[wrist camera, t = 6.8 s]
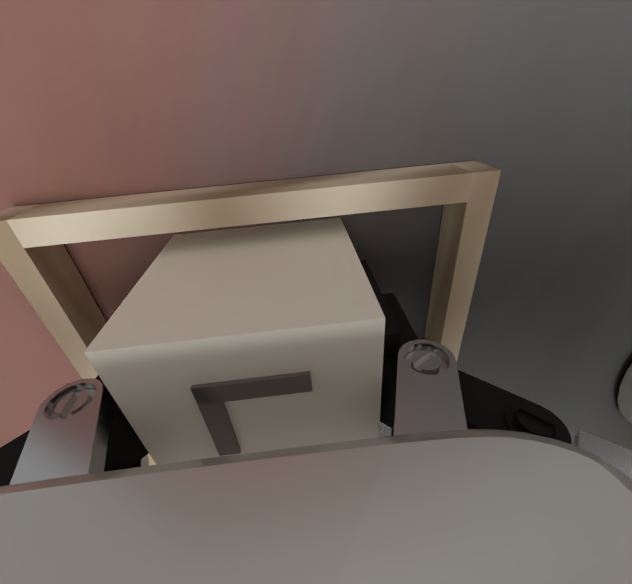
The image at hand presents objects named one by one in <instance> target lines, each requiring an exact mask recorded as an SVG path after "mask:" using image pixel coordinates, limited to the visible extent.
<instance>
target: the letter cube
mask: <svg viewBox="0 0 632 584" xmlns="http://www.w3.org/2000/svg"><path fill="white" fill-rule="evenodd" d="M384 334H385V316H384V314H383V311H382V309H381V307H380V305H379V302H378V300H377V298H376V296H375V294H374V291H373V289H372V287H371V285H370V282H369V280H368V278H367V276H366V273H365V271H364V269H363V267H362V264H361V262H360V260H359V258H358V255H357V253H356V251H355V249H354V247H353V244H352V242H351V240H350V238H349V235H348V233H347V231H346V229H345V226H344V224H343V222H342V220H341V218H333V219H324V220H314V221H305V222H295V223H285V224H276V225H266V226H256V227H247V228H237V229H228V230H218V231H208V232H199V233H189V234H180V235H173V236H172V238H171V239H170V240H169V242H168V243H167V244H166V246H165V247H164V248H163V249H162V251H161V252H160V253H159V255H158V256H157V257H156V259H155V260H154V261H153V263H152V264H151V265H150V266H149V268H148V269H147V270H146V272H145V273H144V274H143V276H142V277H141V278H140V280H139V281H138V282H137V283H136V285H135V286H134V287H133V289H132V290H131V291H130V293H129V294H128V295H127V297H126V298H125V299H124V300H123V302H122V303H121V304H120V306H119V307H118V308H117V310H116V311H115V312H114V314H113V315H112V316H111V317H110V319H109V320H108V321H107V323H106V324H105V325H104V327H103V328H102V329H101V331H100V332H99V333H98V334H97V336H96V337H95V338H94V340H93V341H92V342H91V344H90V345H89V346H88V348H87V349H86V350H85V351H84V353H85V355H86V357H87V358H88V360H89V361H90V363H91V364H92V366H93V367H94V369H95V370H96V372H97V374H98V375H99V377H100V378H101V380H102V381H103V383H104V384H105V386H106V387H107V389H108V391H109V392H110V394H111V395H112V397H113V398H114V400H115V401H116V403H117V404H118V406H119V407H120V409H121V411H122V412H123V414H124V415H125V417H126V418H127V420H128V421H129V423H130V424H131V426H132V428H133V429H134V431H135V432H136V434H137V435H138V437H139V438H140V440H141V441H142V443H143V445H144V446H145V448H146V449H147V451H148V452H149V454H150V455H151V457H152V458H153V460H154V462H155V463H156V465H159V464H167V463H175V462H182V461H190V460H198V459H206V458H214V457H222V456H230V455H238V454H246V453H253V452H261V451H269V450H277V449H285V448H294V447H302V446H310V445H319V444H327V443H335V442H343V441H352V440H360V439H368V438H376V437H379V426H380V408H381V389H382V371H383V353H384Z"/></svg>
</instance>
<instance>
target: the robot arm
mask: <svg viewBox="0 0 632 584" xmlns="http://www.w3.org/2000/svg"><path fill="white" fill-rule="evenodd" d="M360 262H361V264H362V267H363V269H364V271H365V273H366V276H367V278H368V280H369V282H370V285H371V287H372V289H373V291H374V294H375V296H376V298H377V300H378V302H379V305H380V307H381V309H382V311H383V314H384V316H385V334H384V353H383V371H382V389H381V408H380V421H381V422H382V423H384V424H386V425H387V426H389V427H391V436H386V437H376V438H368V439H360V440H352V441H343V442H335V443H327V444H319V445H310V446H302V447H294V448H285V449H277V450H269V451H261V452H253V453H246V454H238V455H230V456H222V457H214V458H206V459H198V460H190V461H182V462H175V463H167V464H159V465H151V466H149V458H148V453H149V452H148V451H147V449H146V448H145V446H144V445H143V443H142V441H141V440H140V438H139V437H138V435H137V434H136V432H135V431H134V429H133V428H132V426H131V424H130V423H129V421H128V420H127V418H126V417H125V415H124V414H123V412H122V411H121V409H120V407H119V406H118V404H117V403H116V401H115V400H114V398H113V397H112V395H111V394H110V392H109V391H108V389H107V387H106V386H105V384H104V383H103V381H102V380H101V378H100V377H99V375H97V377H96V378H95V379H94V378H85V379H81V380H76V381H74V382H71V383H69V384H66V385H65V386H63V387H61V388H60V389H58V390H56V391H55V392H54V393H52V394H51V395H50V396H49V397H48V398H47V399H46V400H45V401H44V402H43V403H42V404H41V406H40V407H39V409H38V411H37V413H36V416H35V418H34V421H33V424H32V426H31V429H30V430H29V431H27V432H26V433H24V434H22V435H21V436H19V437H17V438H16V439H14V440H12V441H11V442H9V443H7V444H6V445H4V446H3V447H1V448H0V584H632V450H629V449H627V448H624V447H622V446H619V445H617V444H614V443H612V442H609V441H607V440H604V439H602V438H599V437H597V436H594V435H592V434H590V433H587V432H585V431H582V430H579V431H578V433H577V434H576V433H574V432H571V431H569V430H568V429H567V427H566V426H565V425H564V424H563V422H562V421H561V420H560V419H559V418H558V417H557V416H555V415H554V414H553V413H552V412H550V411H549V410H547V409H545V408H543V407H541V406H540V405H537V404H535V403H533V402H531V401H528V400H526V399H524V398H521V397H519V396H517V395H514V394H512V393H510V392H508V391H505V390H503V389H501V388H498V387H496V386H494V385H491V384H489V383H487V382H485V381H482V380H480V379H478V378H475V377H473V376H471V375H468V374H466V373H464V372H462V371H459V370H458V369H457V362H456V359H455V357H454V355H453V353H452V352H451V351H450V350H449V349H448V348H446V347H445V346H443V345H442V344H439V343H437V342H435V341H430V340H418V338H417V336H416V334H415V332H414V331H413V329H412V327H411V325H410V323H409V321H408V319H407V318H406V316H405V314H404V312H403V310H402V308H401V306H400V305H399V303H398V301H397V299H396V297H395V296H394V294H392V293H390V294H382V293H381V291H380V289H379V287H378V285H377V283H376V281H375V279H374V277H373V275H372V273H371V271H370V268H369V266H368V264H367V262H366V260H361V261H360ZM618 405H619V410H620V412H621V413H622V415H623V416H624V418H625V419H626V420H627V421H628V422H629V423H630V424H631V425H632V364H631V365H630V366H629V368H628V369H627V371H626V374H625V376H624V378H623V380H622V382H621V384H620V389H619V394H618Z"/></svg>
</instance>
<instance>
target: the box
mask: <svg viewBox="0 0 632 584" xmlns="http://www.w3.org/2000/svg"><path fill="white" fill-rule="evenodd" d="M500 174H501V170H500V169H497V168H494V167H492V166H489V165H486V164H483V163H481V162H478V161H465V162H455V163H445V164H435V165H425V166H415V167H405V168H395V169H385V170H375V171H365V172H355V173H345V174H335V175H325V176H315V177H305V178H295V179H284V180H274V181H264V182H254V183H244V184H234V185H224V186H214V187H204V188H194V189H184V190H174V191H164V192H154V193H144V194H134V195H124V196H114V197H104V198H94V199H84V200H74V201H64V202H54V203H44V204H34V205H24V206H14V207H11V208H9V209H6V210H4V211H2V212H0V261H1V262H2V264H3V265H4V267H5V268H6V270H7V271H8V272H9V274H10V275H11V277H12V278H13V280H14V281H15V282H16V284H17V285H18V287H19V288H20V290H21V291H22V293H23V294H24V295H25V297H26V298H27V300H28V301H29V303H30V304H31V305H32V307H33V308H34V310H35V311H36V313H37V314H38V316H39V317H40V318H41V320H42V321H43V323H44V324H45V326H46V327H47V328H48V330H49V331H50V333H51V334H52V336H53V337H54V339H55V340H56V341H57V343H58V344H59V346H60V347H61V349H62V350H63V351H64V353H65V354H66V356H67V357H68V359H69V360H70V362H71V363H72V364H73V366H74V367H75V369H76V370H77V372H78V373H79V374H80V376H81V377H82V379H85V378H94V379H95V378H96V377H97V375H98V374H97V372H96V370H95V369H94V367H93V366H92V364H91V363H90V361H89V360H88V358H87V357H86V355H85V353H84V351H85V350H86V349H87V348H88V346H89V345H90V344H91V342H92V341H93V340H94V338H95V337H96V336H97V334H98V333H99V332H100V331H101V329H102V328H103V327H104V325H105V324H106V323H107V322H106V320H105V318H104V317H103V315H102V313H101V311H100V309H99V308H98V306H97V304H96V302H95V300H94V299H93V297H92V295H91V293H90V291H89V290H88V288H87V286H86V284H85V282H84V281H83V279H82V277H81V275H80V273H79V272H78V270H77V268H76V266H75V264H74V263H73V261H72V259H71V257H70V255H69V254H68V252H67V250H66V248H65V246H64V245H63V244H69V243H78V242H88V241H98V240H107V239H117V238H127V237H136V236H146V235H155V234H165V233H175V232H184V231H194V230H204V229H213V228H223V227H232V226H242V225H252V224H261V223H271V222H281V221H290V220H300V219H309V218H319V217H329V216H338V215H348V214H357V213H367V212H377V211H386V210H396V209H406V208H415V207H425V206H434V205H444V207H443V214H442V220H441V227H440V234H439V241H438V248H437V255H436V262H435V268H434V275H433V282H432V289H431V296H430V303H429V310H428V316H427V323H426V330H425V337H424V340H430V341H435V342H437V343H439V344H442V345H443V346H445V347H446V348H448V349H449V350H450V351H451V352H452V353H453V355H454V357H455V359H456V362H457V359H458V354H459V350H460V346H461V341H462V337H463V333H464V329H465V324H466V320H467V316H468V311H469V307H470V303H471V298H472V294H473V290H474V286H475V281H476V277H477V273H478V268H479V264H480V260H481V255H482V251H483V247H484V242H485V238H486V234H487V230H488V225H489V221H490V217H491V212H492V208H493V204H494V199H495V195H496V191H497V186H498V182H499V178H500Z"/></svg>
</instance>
